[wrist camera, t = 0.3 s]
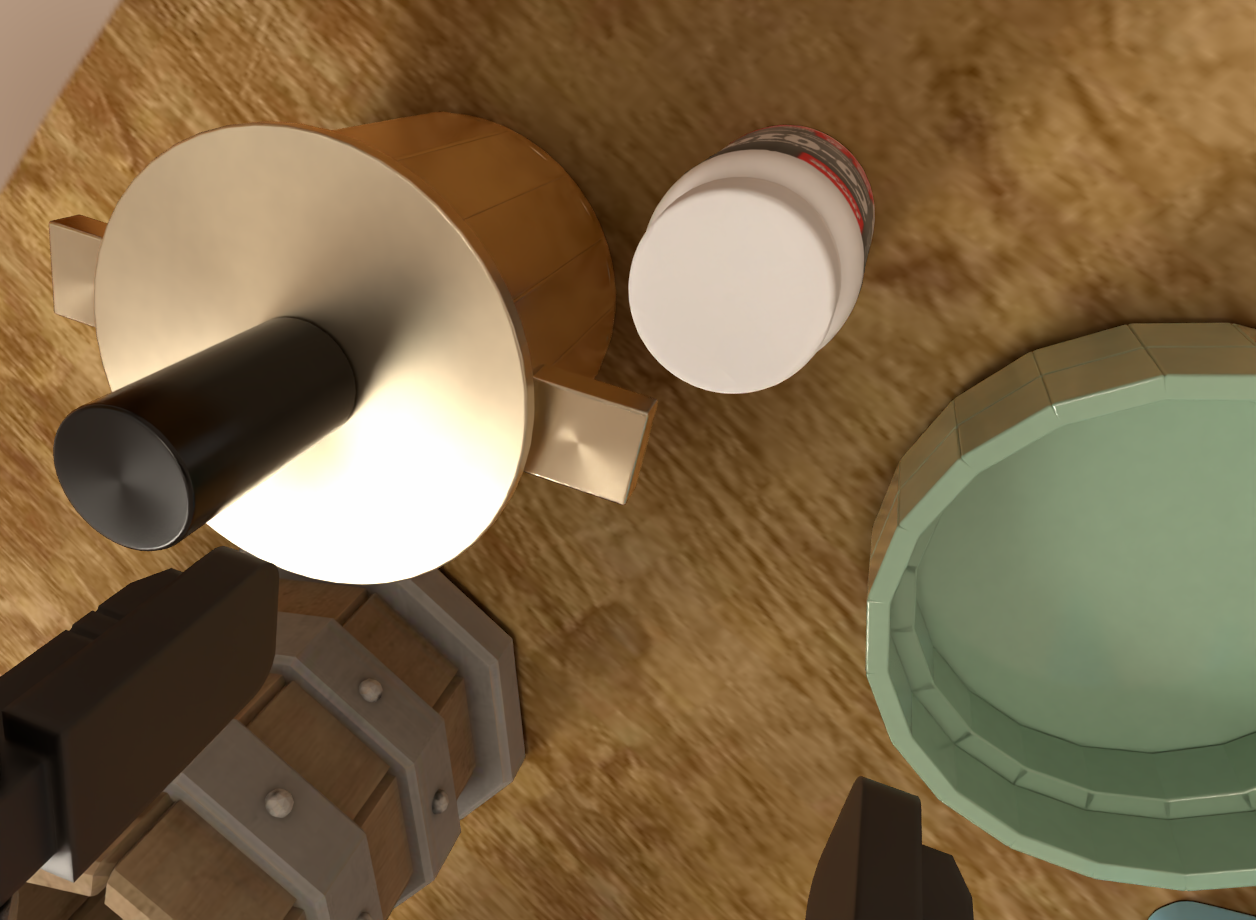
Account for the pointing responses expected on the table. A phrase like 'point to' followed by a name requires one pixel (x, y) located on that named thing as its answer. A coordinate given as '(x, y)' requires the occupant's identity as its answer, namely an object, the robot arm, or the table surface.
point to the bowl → (1084, 605)
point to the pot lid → (299, 362)
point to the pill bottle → (753, 260)
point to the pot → (529, 265)
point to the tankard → (323, 769)
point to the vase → (1196, 912)
